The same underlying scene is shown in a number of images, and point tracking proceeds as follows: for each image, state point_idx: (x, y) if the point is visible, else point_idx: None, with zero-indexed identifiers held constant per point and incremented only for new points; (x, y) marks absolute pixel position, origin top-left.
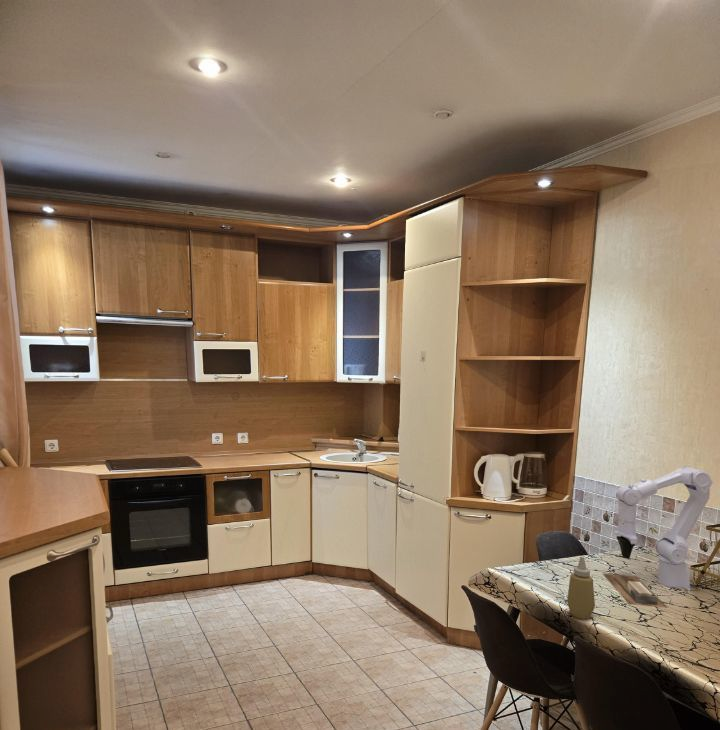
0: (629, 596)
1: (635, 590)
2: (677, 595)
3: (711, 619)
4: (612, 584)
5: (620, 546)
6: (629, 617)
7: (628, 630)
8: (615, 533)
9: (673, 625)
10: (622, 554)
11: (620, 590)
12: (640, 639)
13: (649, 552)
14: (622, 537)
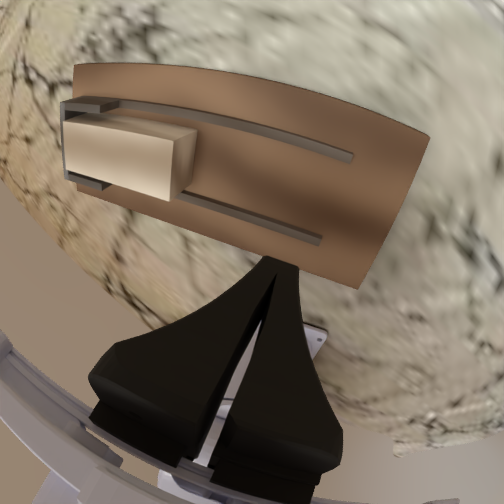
0: (126, 95)
1: (95, 123)
2: (195, 301)
3: (74, 258)
4: (261, 83)
5: (284, 333)
6: (34, 42)
7: (2, 26)
8: (117, 487)
9: (23, 143)
10: (269, 270)
11: (182, 84)
12: None
13: (482, 427)
14: (239, 460)
